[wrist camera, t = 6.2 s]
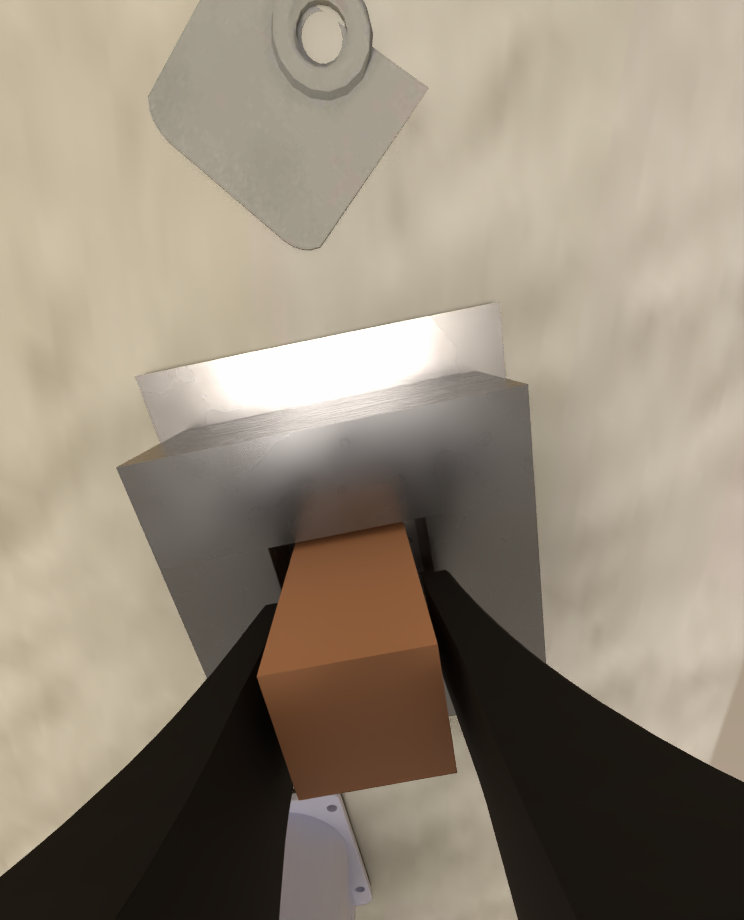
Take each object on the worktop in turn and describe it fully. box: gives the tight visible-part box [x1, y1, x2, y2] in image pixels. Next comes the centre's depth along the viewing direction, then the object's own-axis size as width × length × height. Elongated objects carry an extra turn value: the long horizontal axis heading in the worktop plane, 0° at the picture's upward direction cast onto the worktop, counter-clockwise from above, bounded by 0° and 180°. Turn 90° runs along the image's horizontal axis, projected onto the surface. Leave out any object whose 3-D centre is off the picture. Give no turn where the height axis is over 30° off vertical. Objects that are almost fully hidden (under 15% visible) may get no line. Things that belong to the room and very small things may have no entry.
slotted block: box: [116, 302, 546, 716], centre depth 13 cm, size 14×12×5 cm
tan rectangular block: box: [257, 522, 457, 801], centre depth 10 cm, size 3×3×8 cm
